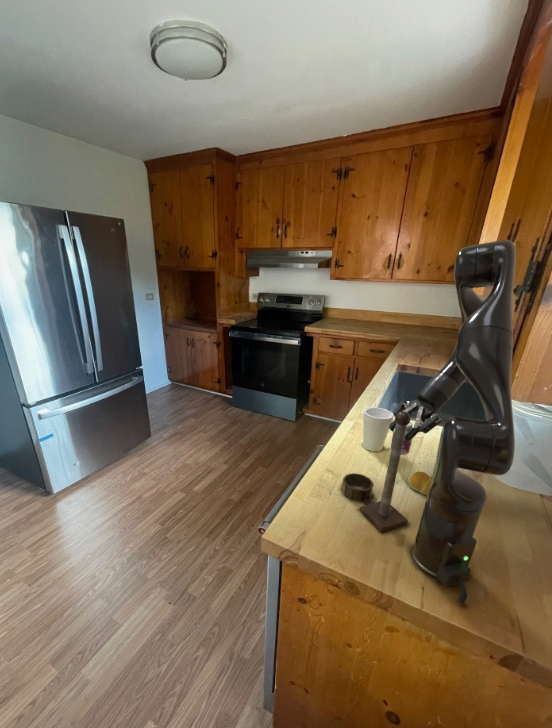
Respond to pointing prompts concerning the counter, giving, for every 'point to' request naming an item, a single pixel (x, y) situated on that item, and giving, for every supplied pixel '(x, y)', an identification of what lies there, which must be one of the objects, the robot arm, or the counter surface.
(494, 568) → the counter surface
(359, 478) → the towel stand
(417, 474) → the bread roll
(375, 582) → the counter surface
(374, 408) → the foam cup
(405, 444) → the pill bottle
